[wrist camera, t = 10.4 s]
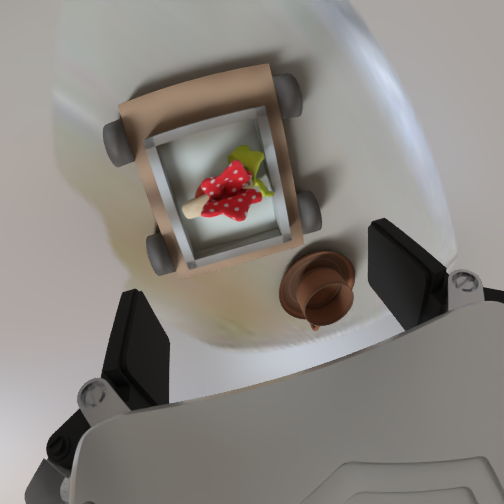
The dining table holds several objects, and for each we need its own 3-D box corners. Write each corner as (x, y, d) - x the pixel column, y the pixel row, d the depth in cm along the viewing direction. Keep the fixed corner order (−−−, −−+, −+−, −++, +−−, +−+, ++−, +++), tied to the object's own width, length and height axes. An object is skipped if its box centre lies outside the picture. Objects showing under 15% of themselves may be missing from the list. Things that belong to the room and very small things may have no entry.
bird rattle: (226, 213, 34) (293, 183, 29) (183, 271, 25) (269, 240, 21) (197, 169, 31) (264, 131, 27) (142, 215, 23) (224, 167, 18)
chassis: (109, 111, 27) (93, 113, 22) (279, 64, 28) (294, 57, 23) (167, 271, 38) (164, 296, 33) (310, 230, 39) (326, 249, 34)
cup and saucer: (349, 298, 47) (366, 322, 41) (282, 320, 46) (292, 347, 41) (348, 236, 41) (369, 256, 35) (269, 258, 40) (281, 283, 35)
